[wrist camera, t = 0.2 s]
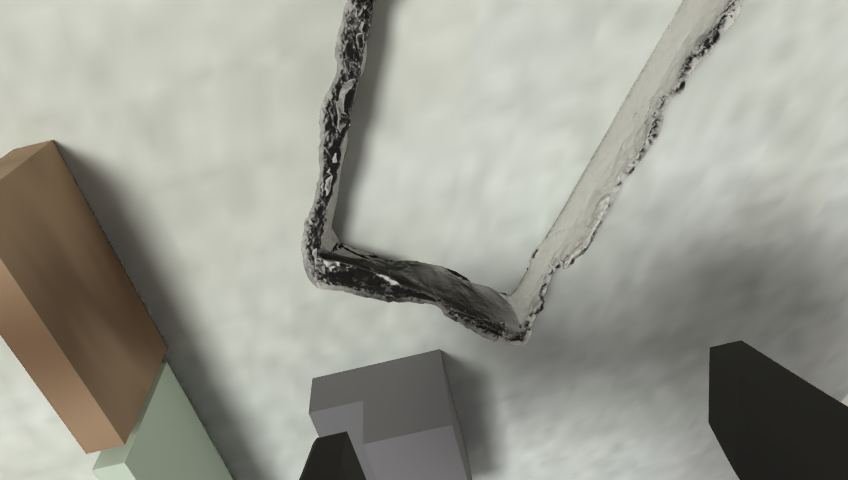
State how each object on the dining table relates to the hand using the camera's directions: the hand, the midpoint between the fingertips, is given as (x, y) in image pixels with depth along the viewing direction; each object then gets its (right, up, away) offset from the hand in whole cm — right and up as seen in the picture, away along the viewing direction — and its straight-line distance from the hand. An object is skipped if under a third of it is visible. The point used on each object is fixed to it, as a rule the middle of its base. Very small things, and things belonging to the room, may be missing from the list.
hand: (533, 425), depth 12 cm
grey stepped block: (-3, -3, +13) cm, 14 cm away
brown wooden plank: (-11, -6, +13) cm, 18 cm away
